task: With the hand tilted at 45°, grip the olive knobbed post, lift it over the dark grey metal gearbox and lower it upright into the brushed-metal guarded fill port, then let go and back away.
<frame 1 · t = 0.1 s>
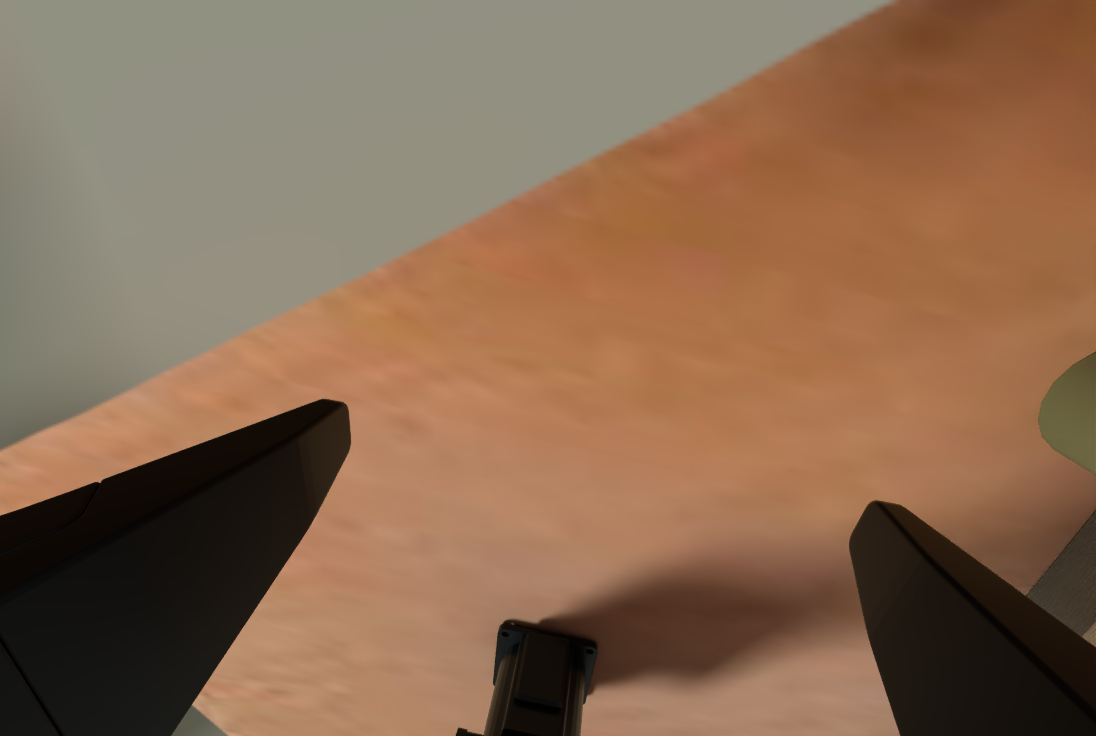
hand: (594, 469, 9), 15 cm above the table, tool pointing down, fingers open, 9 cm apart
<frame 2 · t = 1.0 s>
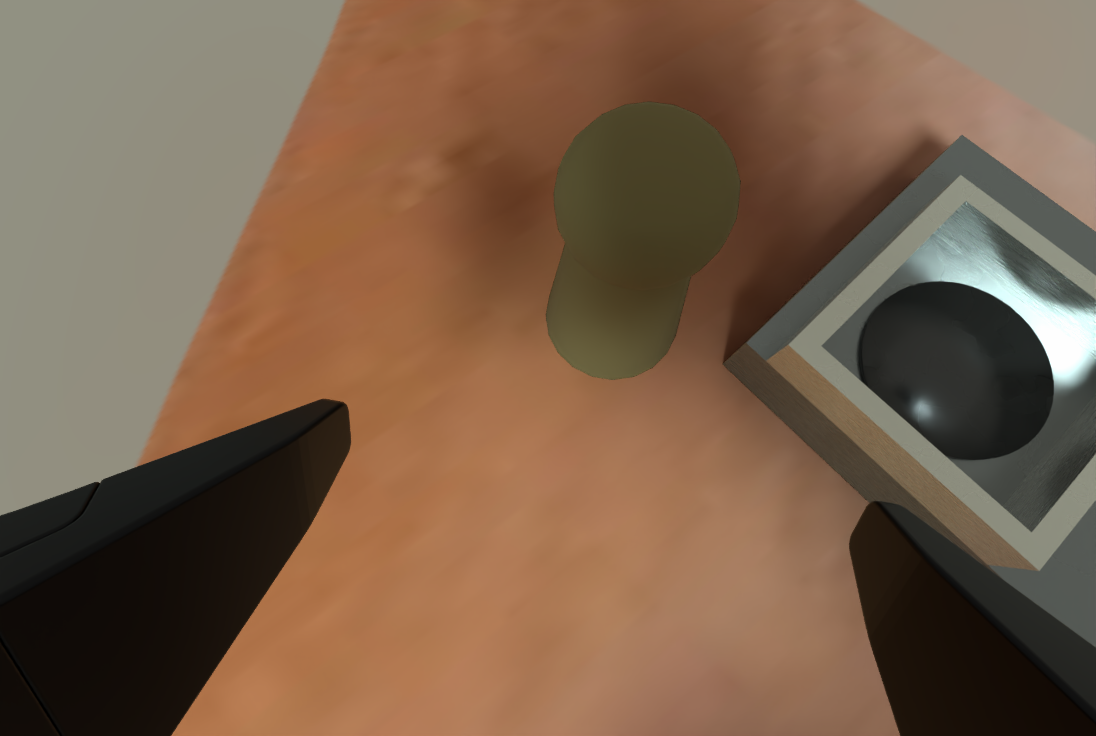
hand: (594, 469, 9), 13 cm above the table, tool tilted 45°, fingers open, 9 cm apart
olive knobbed post: (611, 317, 24), on the table
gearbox: (968, 388, 23), on the table
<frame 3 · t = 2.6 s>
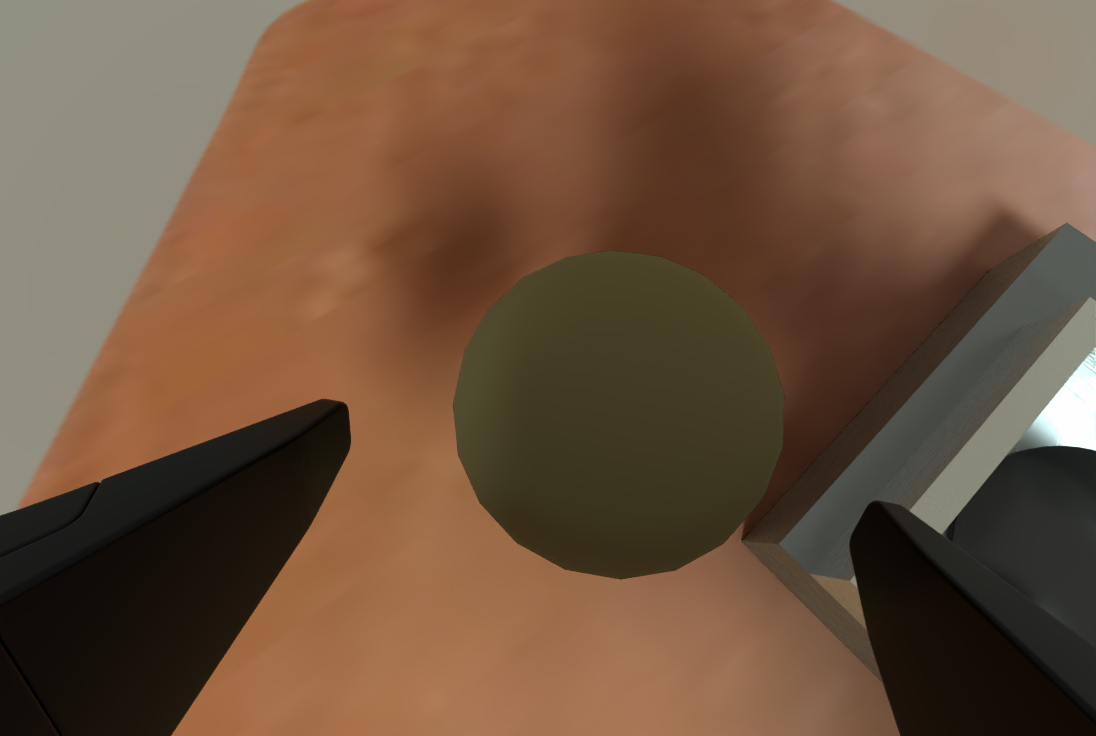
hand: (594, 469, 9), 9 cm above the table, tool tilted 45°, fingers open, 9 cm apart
olive knobbed post: (586, 470, 18), on the table
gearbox: (1091, 577, 16), on the table
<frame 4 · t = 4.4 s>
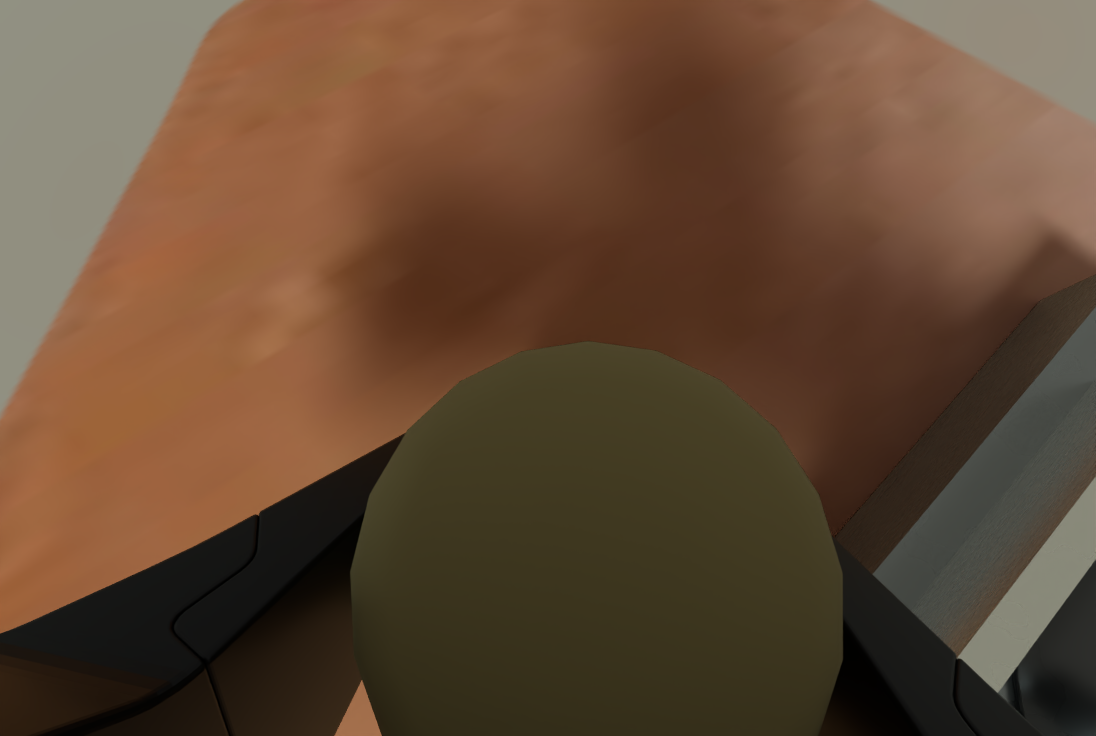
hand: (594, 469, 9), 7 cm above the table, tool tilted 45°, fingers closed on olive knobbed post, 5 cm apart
olive knobbed post: (572, 541, 15), on the table, touching gripper
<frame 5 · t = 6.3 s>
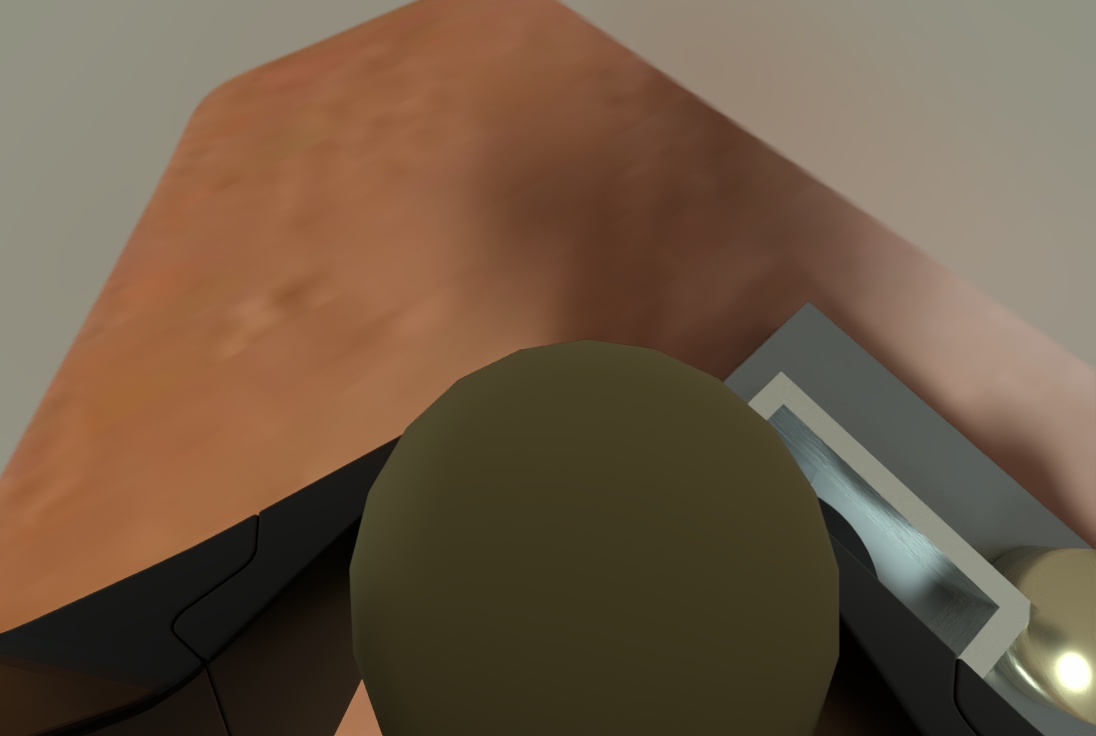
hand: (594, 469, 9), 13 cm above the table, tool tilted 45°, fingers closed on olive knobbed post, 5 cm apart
olive knobbed post: (570, 539, 15), point 6 cm above the table, touching gripper
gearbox: (815, 581, 20), on the table
when the fingers open (10 cm above the table, at t = 8.4 s): olive knobbed post stays where it is, resting on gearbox.
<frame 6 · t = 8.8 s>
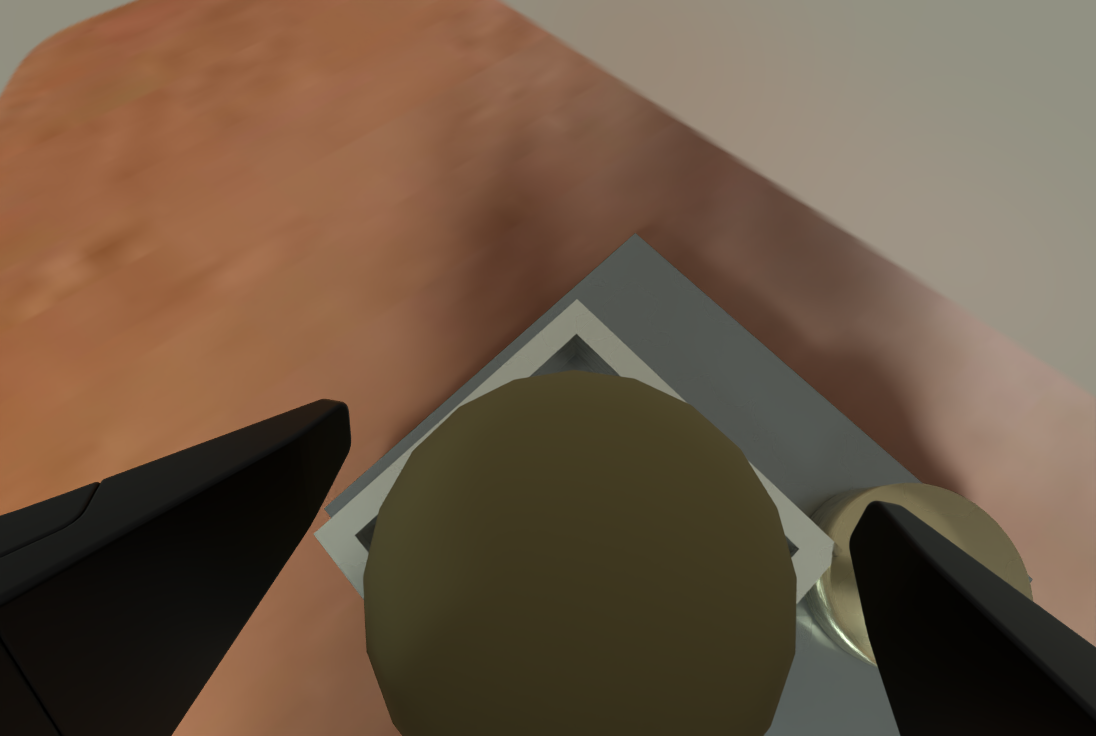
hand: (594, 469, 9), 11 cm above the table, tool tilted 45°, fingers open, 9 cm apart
olive knobbed post: (568, 544, 16), point 3 cm above the table, touching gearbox
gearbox: (649, 539, 19), on the table
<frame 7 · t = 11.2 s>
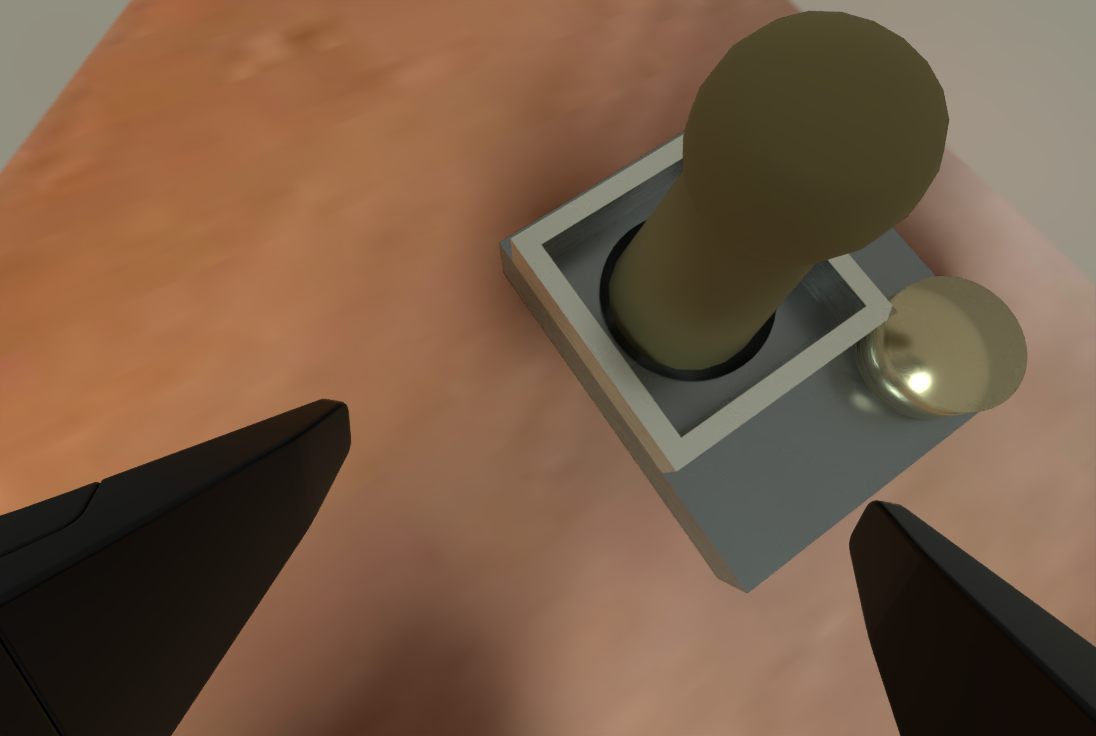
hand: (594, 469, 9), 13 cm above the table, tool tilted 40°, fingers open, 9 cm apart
olive knobbed post: (683, 297, 21), point 3 cm above the table, touching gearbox
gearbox: (729, 330, 23), on the table
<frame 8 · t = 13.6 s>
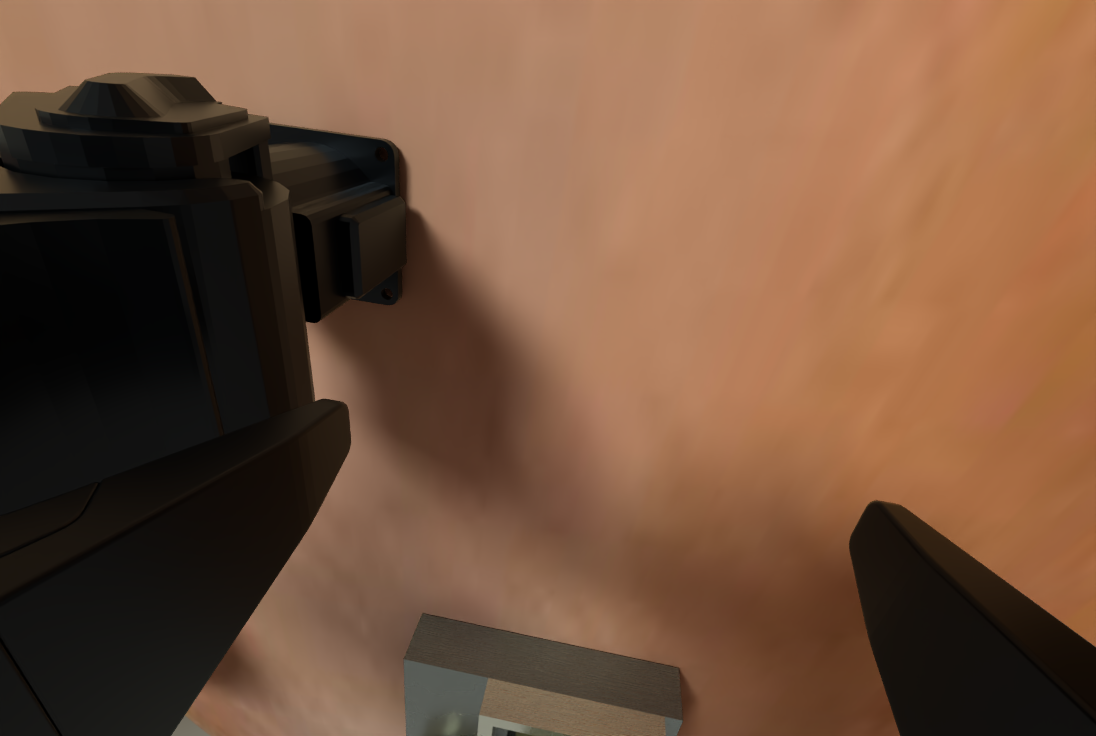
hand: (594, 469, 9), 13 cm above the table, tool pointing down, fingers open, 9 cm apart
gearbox: (536, 704, 35), on the table
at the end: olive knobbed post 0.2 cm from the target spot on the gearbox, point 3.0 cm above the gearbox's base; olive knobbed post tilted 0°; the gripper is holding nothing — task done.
